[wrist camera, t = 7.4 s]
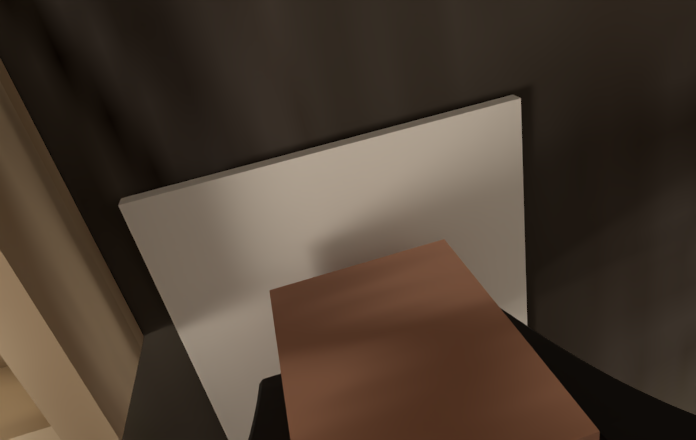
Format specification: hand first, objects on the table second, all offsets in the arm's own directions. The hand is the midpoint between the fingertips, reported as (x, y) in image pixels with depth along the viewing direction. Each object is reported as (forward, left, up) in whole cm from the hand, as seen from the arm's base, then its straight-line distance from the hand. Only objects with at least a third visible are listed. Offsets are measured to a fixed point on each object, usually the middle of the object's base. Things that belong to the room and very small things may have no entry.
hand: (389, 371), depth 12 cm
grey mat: (0, 0, -3) cm, 3 cm away
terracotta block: (0, 0, -1) cm, 1 cm away
